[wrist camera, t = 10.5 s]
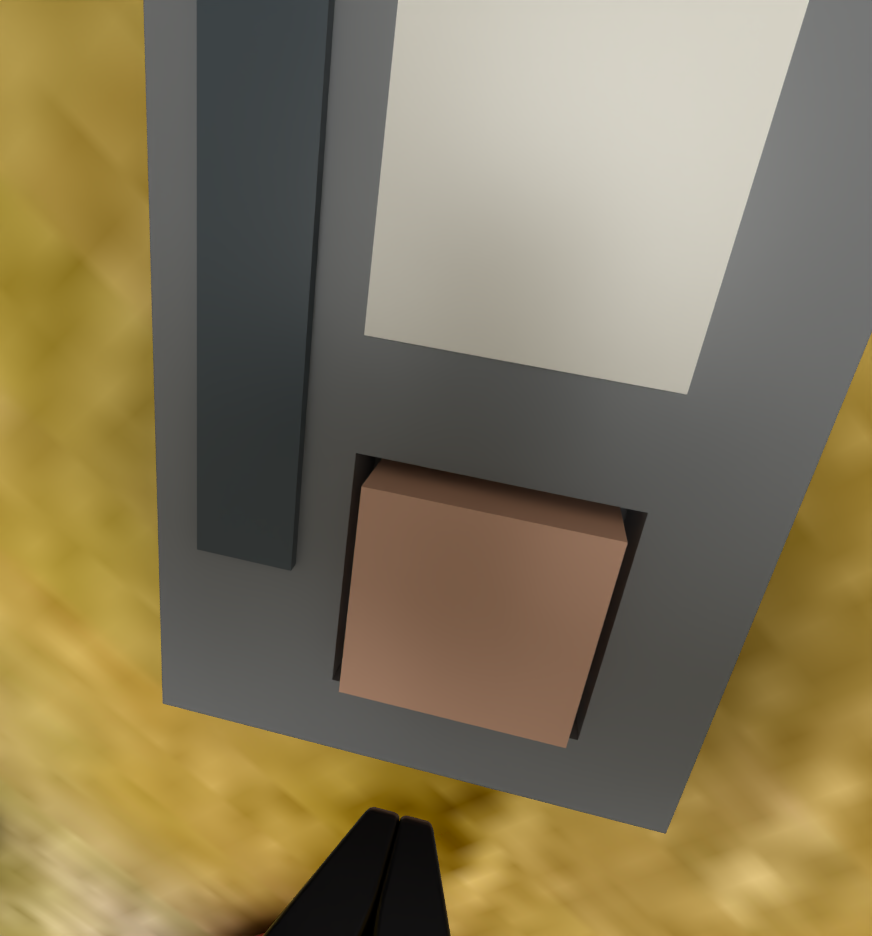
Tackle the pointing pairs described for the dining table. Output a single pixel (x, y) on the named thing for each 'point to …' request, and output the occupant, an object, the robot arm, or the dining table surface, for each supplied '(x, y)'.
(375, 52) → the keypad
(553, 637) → the key terracotta
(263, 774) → the dining table surface
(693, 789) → the dining table surface
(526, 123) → the key offwhite
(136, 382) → the dining table surface
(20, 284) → the dining table surface
